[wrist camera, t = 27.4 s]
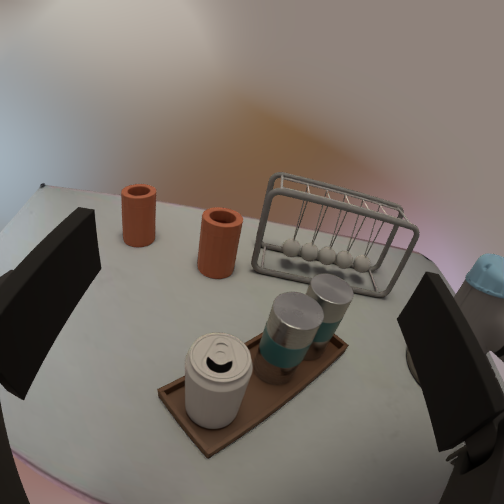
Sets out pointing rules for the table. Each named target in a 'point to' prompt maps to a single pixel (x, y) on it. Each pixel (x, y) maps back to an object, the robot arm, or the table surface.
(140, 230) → the jar
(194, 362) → the beverage can
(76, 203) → the table surface
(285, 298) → the tray can
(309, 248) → the newton's cradle
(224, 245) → the jar
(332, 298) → the tray can
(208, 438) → the can tray
